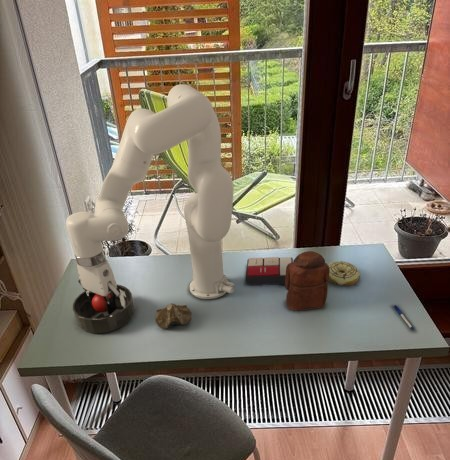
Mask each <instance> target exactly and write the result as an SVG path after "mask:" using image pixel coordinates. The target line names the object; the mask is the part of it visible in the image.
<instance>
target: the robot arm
mask: <svg viewBox="0 0 450 460" xmlns="http://www.w3.org/2000/svg"><path fill="white" fill-rule="evenodd" d="M166 105H167V107H166V108H163V109H162V110H160V111H158V112H154V111H153V110H151V109H148V108H137V109H135V110H133V111H132V112H131V113H130V115H129V116H128V118H127V120H126V123H125V126H124V129H123V131H122V135H121V138H120V142H119V145H118V148H117V151H116V153H115V156H114V159H113V163H112V165H111V168H110V169H109V171H108V172H107V174H106V176H105V178H104V179H103V182H102V184H101V186H100V190H99V192H98V196H97V199H96V202H95V205H94V213H92V212H89V211H77V212H74V213H72V214H70V215H69V216H68V217H66V220H65V225H66V229H67V233H68V236H69V239H70V243H71V246H72V250H73V253H74V258H75V261H76V269H77V274H78V278H79V279H78V281H77V282H78V284H79V285H80V286H81V287H82V289H83V290H84V291H86V295H87V296H89V301H90V304H91V307H92V308H93V306H92V299H93V297H94V295H96V294H99V295H101V296H103V297H104V299H105V301H106V304H105V305H106V308H107V312H108V314H109V315H110V314H112V313H113V312H114V311H115V310H116V309H117V307H116V303H115V299H116V298H117V297H118V296H120V293H119V292H118V291H117V290H116V289H117V285H116V284H117V281H116V278H115V275H114V272H113V270H112V269H113V268H112V267H111V265H110V263H109V261H108V260H107V258H106V256H105V250H104V246H103V243H102V242H114V241H119V240H122V239H124V238H125V237H126V236H127V235H128V233H129V229H130V227H129V226H130V225H129V221H128V220H127V217H126V215H125V213H124V207H125V203H126V200H127V198H128V195H129V193H130V191H131V190H132V188H133V187H134V186H135V185H136V184H138V183H142V182H143V181H144V180H145V179H146V177H147V174H148V172H149V169H150V166H151V164H152V161H153V158H154V155H159V154H162V153H165V152H166V151H168V150H171V149H173V148H175V147H176V146H178V145H180V144H182V143H184V142H185V141H187V142H188V143H187V144H188V156H187V159H188V160H187V164H188V165H187V180H188V184H189V185H190V187H191V188H192V189H193V190H194V191H195V193H193V194H191V195H190V196H189V197H187V199H186V200H185V203H184V207H183V215H184V220H185V226H186V230H187V235H188V243H189V253H190V261H191V270H192V280H191V282H190V284H189V292H190V293H191V295H192V296H194V297H195V298H197V299H200V300H201V299H202V300H214V299H218V298H220V297H222V296H224V295H225V294H226V293H228V294H233V293H234V286H235V283H234V282H231V281H229V280H228V279H227V275H225V274H224V261H223V260H224V259H223V247H222V245H223V244H222V239H225V237H226V236H227V235H228V233H229V231H230V228H231V225H232V218H233V217H232V216H233V206H234V193H235V191H234V182H233V177H232V176H231V174H230V172H228V170H227V169H226V168H225V167H224V166H223V164H222V132H221V125H220V122H219V119H218V115H217V114H216V112H215V109H214V107H213V104H212V102H211V100H210V99H209V98H208V96H207V95H205V94H203V93H202V92H200V91H199V90H197V89H196V88H194V87H193V86H191V85H189V84H184V83H180V84H176V85H174V86H173V87H172V88H171V89H170V90H169V92H168V95H167V99H166ZM108 294H110V296H111V297H110V298H108V296H107V295H108Z"/></svg>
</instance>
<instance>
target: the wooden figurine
mask: <svg viewBox="0 0 450 460" xmlns="http://www.w3.org/2000/svg"><path fill="white" fill-rule="evenodd" d="M329 270H330V268H329V266H328V263H326V260H325V258H324V257H323V255H322V254H320V253H319V252H316V251H313V250H308V251H303V252H301V253H299V254H298V255H297V256H295V258H293V262H292V263H289V264H288V265H287V267H286V276H285V285H284V286H285V289H286V291H287V293H286V297H285V305H286V307H287V309H289V310H290V311H291V310H292V311H297V312H299V311H306V310H313V309H320V308H323V307H324V306H325V304H326V301H327V298H328V289H329V283H328V281H329Z"/></svg>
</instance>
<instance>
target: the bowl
mask: <svg viewBox="0 0 450 460" xmlns="http://www.w3.org/2000/svg"><path fill="white" fill-rule="evenodd" d="M116 285H117V289H116V290H117V291H118V292H119V293H120V296H118V297H117V298H116V299H115V303H116V307H117V309H116V310H115V311H114V312H113V313H112V314H110V315H109V314H108V312H98V311H96V310H95V309H94V308H92V307H91V304H90V301H89V296H87V295H86V291H85V290H84V291H83V292H81V293H80V294H78V295H77V296H76V298H75V299H74V300H73V303H72V311H73V314H74V318H75V320H76V323H77V325H78V327H79V328H80V329H81V330H83V331H85V332H87V333H93V334H103V333H109V332H113V331H116V330H118V329H120V328H121V327H124V326H126V324H127V323H129V322H130V321H131V320H132V318H133V317H134V315H135V311H136V308H135V307H136V306H135V303H134V298H133V293H132V292H131V290H130V289H129V288H128V287H126V286H124V285H121V284H117V283H116Z"/></svg>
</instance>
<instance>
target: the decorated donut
mask: <svg viewBox="0 0 450 460" xmlns="http://www.w3.org/2000/svg"><path fill="white" fill-rule="evenodd" d="M327 265H328V266H329V268H330V270H329V280H328V281H329V282H330V283H332V284H335V285H339V286H343V287H345V286H346V287H348V286H353V285H356V283H357V282H358V281H359V279H360V277H361V273H360V271H359V269H358V267H356V266H355V265H354V264H353V263H350V262H348V261H342V260H337V261H333V262H330V263H327Z"/></svg>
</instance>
